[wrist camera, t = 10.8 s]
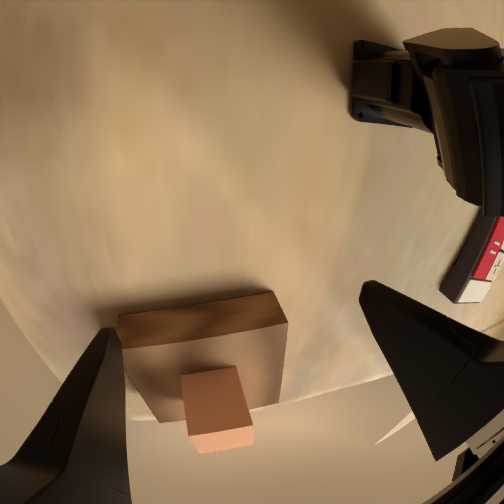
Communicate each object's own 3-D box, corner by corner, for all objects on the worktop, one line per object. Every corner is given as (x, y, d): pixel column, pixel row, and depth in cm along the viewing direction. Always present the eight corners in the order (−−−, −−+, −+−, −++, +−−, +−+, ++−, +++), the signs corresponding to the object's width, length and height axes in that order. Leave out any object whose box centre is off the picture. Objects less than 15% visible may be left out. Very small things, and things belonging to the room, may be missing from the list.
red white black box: (522, 223, 29) (482, 305, 35) (503, 212, 32) (466, 291, 38) (504, 206, 25) (456, 307, 31) (480, 194, 28) (437, 290, 34)
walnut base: (273, 291, 26) (288, 322, 22) (269, 376, 33) (278, 402, 30) (118, 315, 23) (114, 350, 20) (157, 394, 30) (159, 422, 27)
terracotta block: (236, 366, 24) (253, 425, 19) (239, 392, 27) (253, 444, 22) (180, 375, 23) (188, 436, 18) (190, 401, 26) (199, 453, 21)
